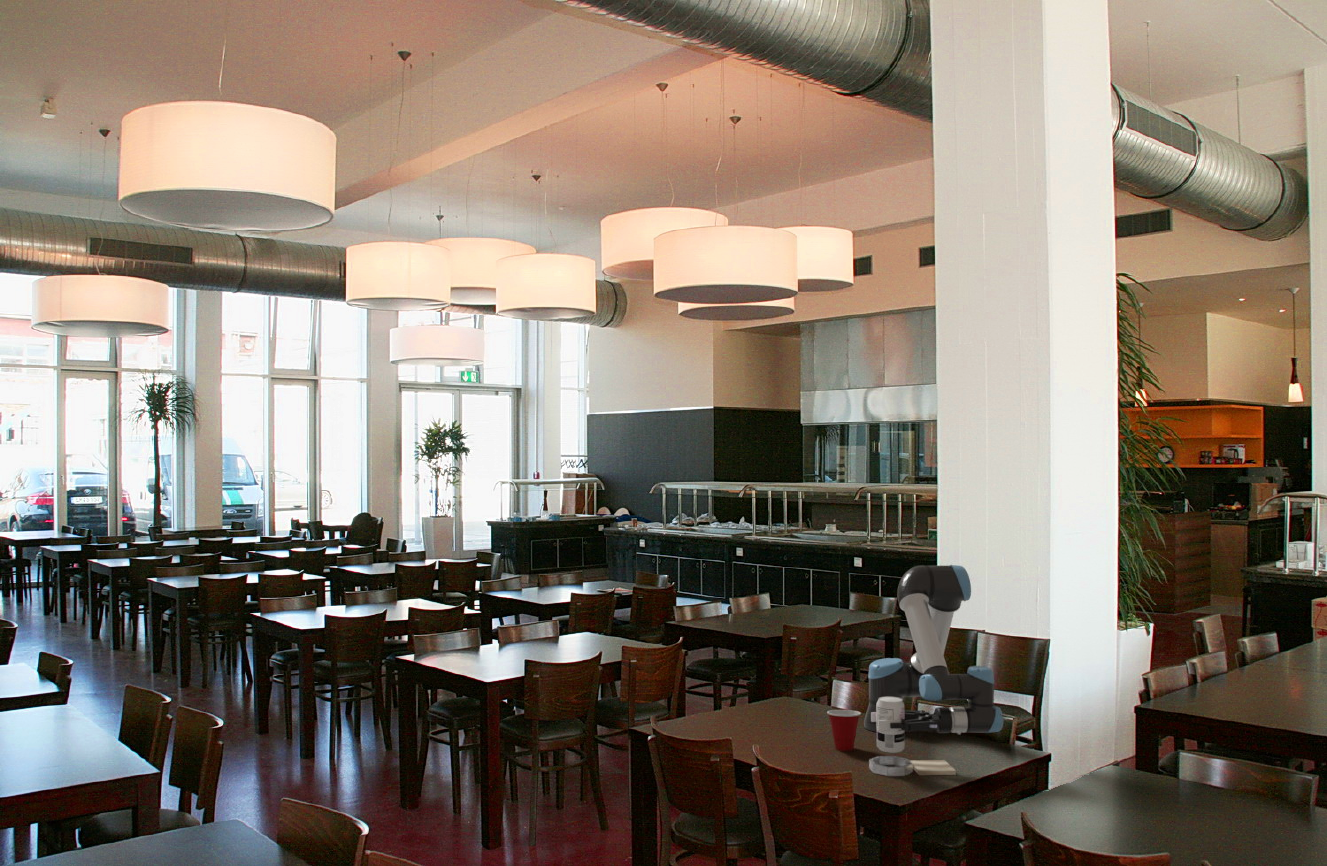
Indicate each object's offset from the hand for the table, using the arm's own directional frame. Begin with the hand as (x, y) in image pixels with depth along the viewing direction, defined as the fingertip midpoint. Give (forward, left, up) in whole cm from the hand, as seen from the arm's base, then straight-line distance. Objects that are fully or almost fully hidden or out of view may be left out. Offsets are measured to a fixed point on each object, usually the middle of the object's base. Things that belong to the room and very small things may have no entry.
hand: (874, 720), depth 313 cm
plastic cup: (-24, -4, -15) cm, 29 cm away
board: (0, +17, -15) cm, 23 cm away
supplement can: (0, +5, -9) cm, 10 cm away
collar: (0, +5, -15) cm, 15 cm away
